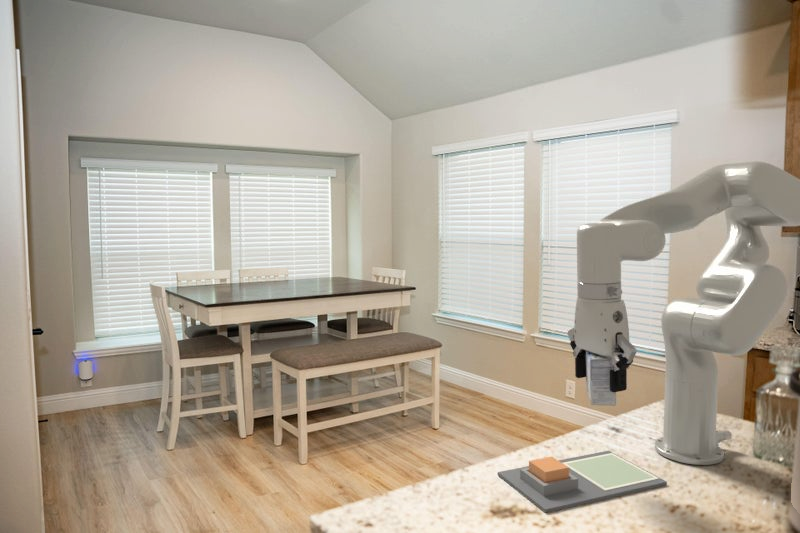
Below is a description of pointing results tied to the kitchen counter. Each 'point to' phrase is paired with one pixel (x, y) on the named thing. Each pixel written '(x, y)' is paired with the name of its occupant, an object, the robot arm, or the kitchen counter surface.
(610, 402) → the medicine box
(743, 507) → the kitchen counter surface
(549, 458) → the button
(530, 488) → the activity board
